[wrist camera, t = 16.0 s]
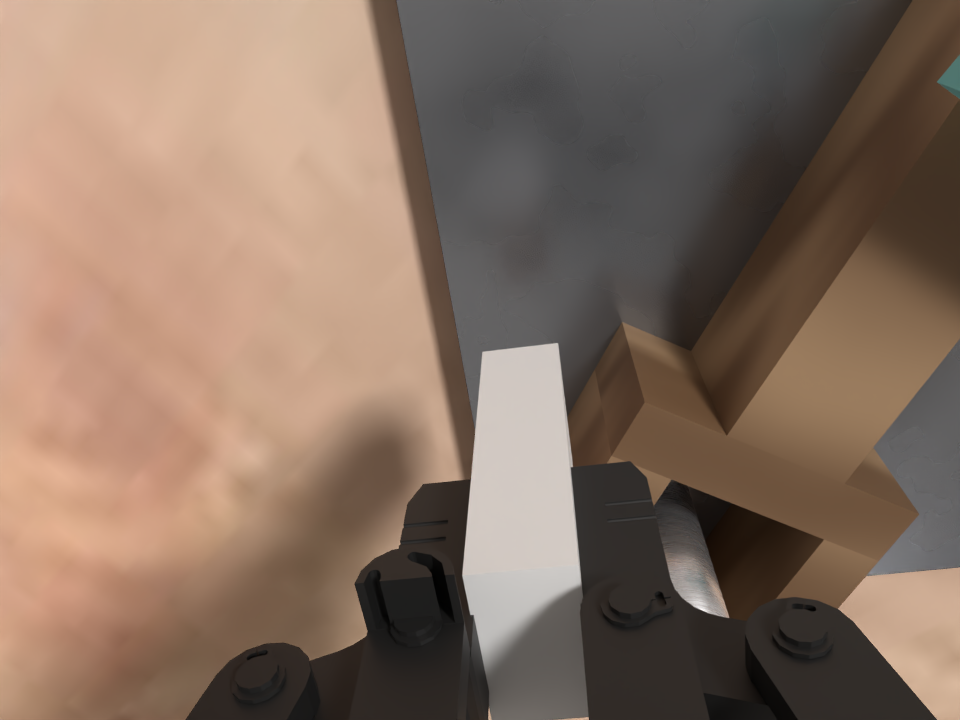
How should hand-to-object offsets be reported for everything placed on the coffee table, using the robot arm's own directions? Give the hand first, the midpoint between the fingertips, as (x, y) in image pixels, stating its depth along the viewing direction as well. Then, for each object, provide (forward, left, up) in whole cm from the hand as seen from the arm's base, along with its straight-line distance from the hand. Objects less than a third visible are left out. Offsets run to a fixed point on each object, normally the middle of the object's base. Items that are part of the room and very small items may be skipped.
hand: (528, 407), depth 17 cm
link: (-1, -7, -5) cm, 8 cm away
